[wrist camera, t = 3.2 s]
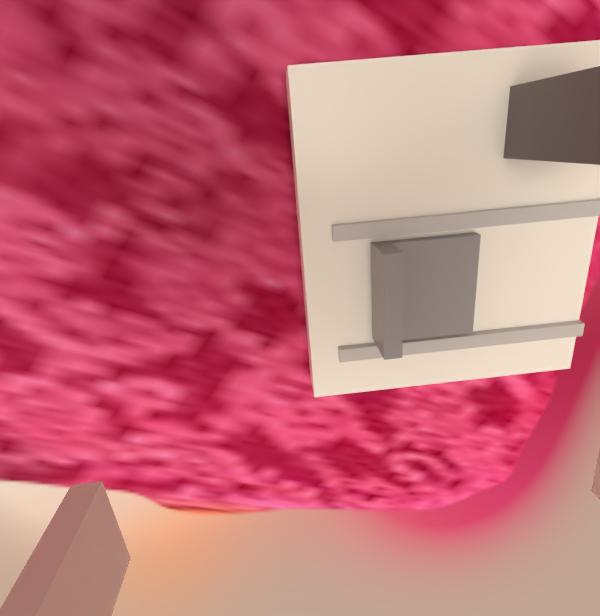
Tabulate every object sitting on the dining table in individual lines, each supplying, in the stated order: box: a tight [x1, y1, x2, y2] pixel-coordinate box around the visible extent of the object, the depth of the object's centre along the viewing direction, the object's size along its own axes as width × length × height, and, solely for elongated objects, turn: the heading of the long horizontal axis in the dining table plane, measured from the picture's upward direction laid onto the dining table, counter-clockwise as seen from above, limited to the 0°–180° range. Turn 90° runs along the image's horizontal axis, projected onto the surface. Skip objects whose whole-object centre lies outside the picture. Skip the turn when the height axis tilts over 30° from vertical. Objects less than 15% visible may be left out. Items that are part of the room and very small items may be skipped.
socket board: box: [285, 40, 600, 397], centre depth 29 cm, size 20×22×4 cm
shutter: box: [371, 232, 481, 360], centre depth 27 cm, size 7×7×3 cm
